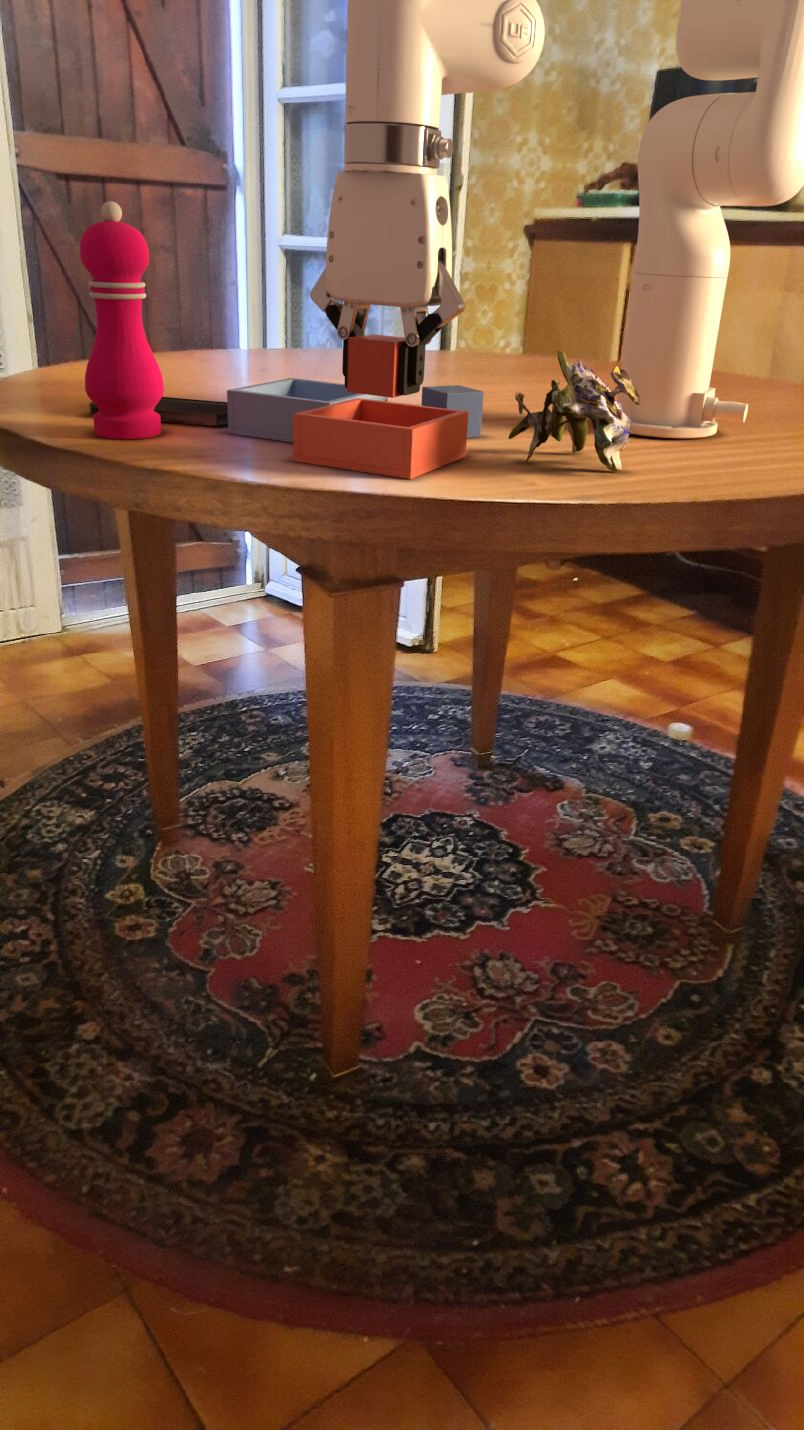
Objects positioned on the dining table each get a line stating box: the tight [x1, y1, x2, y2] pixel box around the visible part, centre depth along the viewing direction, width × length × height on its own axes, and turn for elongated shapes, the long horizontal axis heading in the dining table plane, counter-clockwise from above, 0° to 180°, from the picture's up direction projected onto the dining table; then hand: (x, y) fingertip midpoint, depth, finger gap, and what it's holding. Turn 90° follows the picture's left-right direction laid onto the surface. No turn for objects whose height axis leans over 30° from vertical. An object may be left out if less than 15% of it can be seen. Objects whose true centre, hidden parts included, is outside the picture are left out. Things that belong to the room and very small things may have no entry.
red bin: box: [292, 398, 469, 480], centre depth 91 cm, size 12×12×4 cm
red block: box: [347, 334, 405, 399], centre depth 89 cm, size 4×4×4 cm
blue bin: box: [226, 377, 389, 444], centre depth 102 cm, size 12×12×4 cm
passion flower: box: [507, 350, 641, 473], centre depth 92 cm, size 11×11×12 cm
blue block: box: [420, 384, 485, 439], centre depth 104 cm, size 4×4×4 cm
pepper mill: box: [79, 200, 165, 440], centre depth 94 cm, size 7×7×20 cm
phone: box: [89, 396, 228, 427], centre depth 107 cm, size 8×1×15 cm
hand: (382, 388), depth 90 cm, fingers closed on red block, 4 cm apart
